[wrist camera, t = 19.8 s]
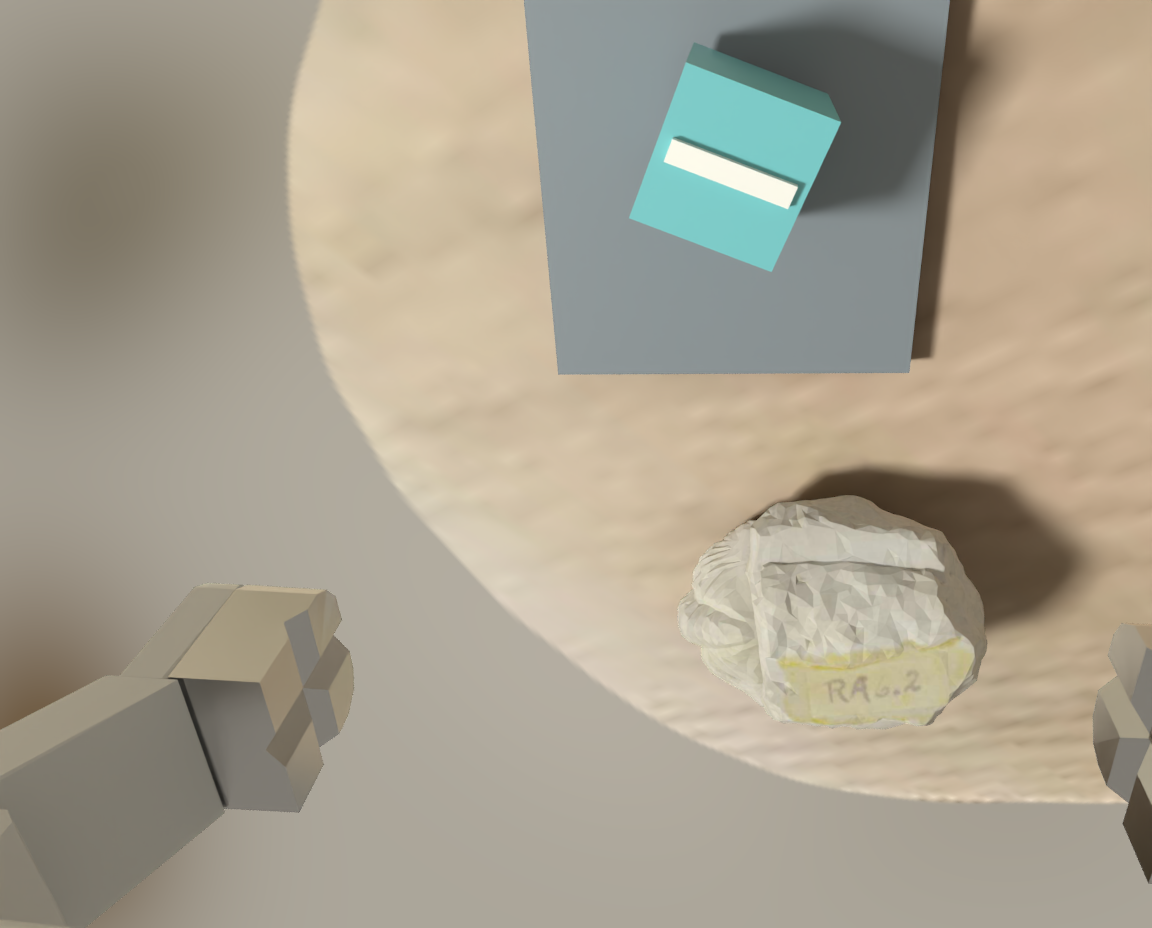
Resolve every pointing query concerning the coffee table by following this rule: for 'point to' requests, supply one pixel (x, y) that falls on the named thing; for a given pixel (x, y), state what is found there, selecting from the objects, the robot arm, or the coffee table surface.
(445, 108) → the coffee table surface
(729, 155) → the teal slotted cube
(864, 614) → the fossil replica
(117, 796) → the robot arm
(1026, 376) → the coffee table surface
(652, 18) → the toggle switch board
